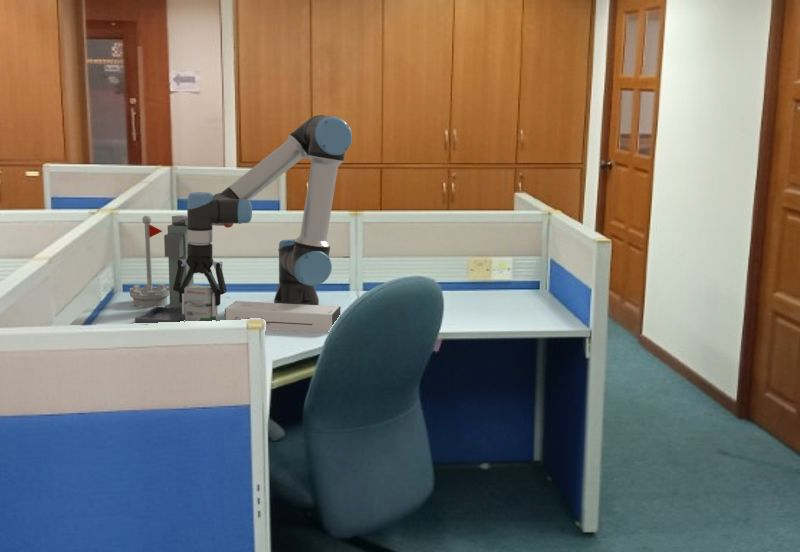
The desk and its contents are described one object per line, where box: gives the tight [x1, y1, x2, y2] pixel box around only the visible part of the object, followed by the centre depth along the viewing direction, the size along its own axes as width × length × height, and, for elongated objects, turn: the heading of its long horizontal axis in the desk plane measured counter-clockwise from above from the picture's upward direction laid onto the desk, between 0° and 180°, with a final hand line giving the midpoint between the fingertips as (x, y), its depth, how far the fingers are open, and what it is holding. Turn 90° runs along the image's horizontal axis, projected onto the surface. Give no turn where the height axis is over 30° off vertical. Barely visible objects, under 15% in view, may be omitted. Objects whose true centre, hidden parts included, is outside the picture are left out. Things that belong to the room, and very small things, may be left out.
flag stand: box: [129, 215, 170, 308], centre depth 311 cm, size 13×13×30 cm
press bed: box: [134, 306, 185, 324], centre depth 293 cm, size 14×16×2 cm
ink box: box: [184, 284, 217, 321], centre depth 287 cm, size 9×5×12 cm, turn 72°
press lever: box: [171, 214, 235, 229], centre depth 301 cm, size 21×5×4 cm, turn 81°
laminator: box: [224, 300, 341, 333], centre depth 289 cm, size 34×12×6 cm, turn 82°
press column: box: [163, 223, 195, 308], centre depth 304 cm, size 9×11×28 cm
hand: (199, 314), depth 288 cm, fingers closed on ink box, 9 cm apart
